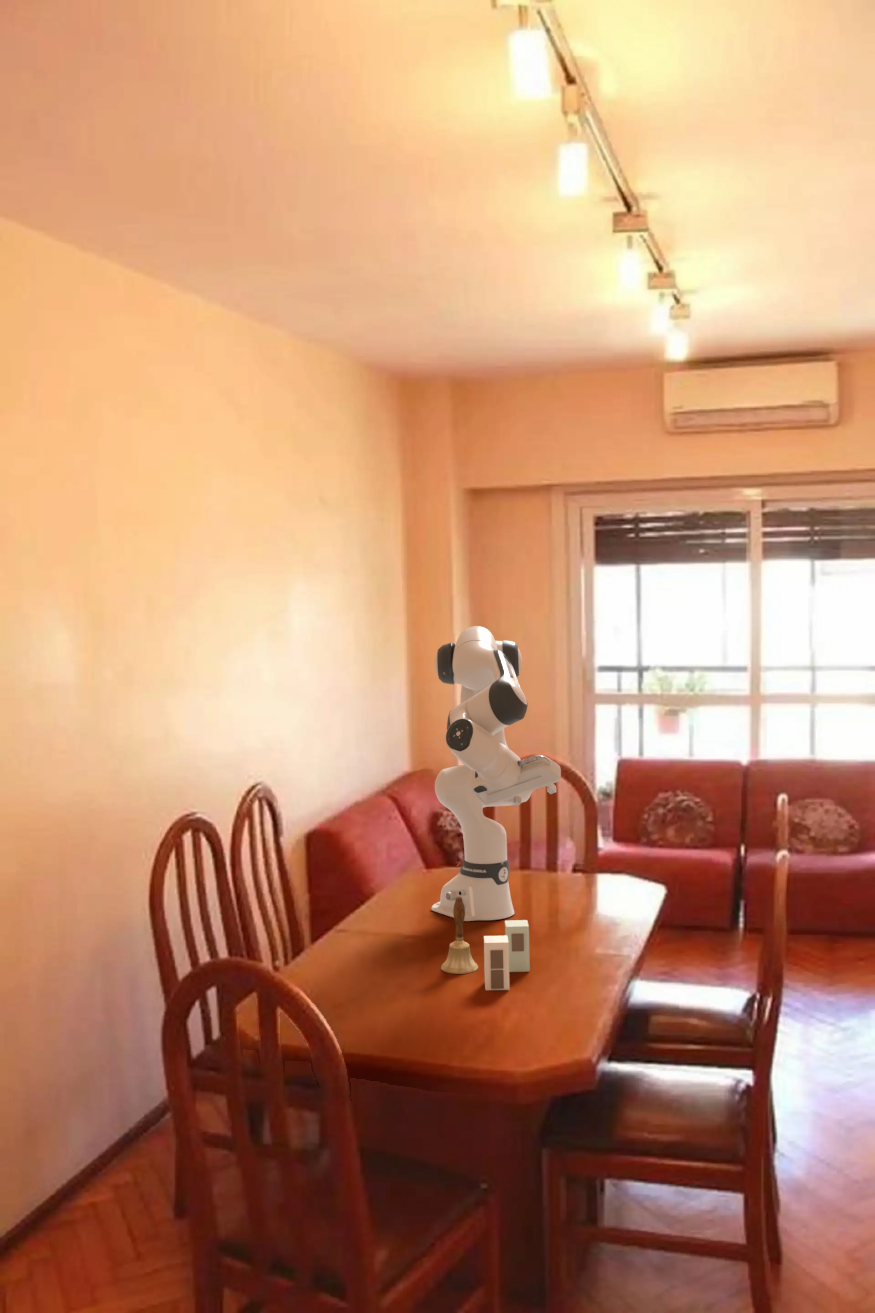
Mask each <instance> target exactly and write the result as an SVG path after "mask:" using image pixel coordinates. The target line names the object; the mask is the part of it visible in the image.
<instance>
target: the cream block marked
mask: <svg viewBox="0 0 875 1313" xmlns="http://www.w3.org/2000/svg"><path fill="white" fill-rule="evenodd" d="M483 959H484V960H483V962H484V964H483V965H484V967H483V968H484V987H485V988H484V989H485V991H510V990H511V989H510V972H509V942H508V936H507V935H505V934H504V935H483Z"/></svg>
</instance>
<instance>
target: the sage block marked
mask: <svg viewBox="0 0 875 1313" xmlns="http://www.w3.org/2000/svg"><path fill="white" fill-rule="evenodd" d="M505 935H507V936H508V942H509V973H521V972H523V973H525V972H527V973H528V972H531V971H530V970H531V966H530V958H531V957H530V926H529V922H528V919H520V920H519V919H515V920H513V919H512V920H511V919H510V920H504V936H505Z"/></svg>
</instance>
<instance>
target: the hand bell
mask: <svg viewBox="0 0 875 1313" xmlns="http://www.w3.org/2000/svg"><path fill="white" fill-rule="evenodd" d="M453 914H454V918H453V919H454V924H455V940H454V941H453V942H450V943H449V947H448V948H449V949H448V954H447V957H446V959H445V961H444V962H443V963H442V964H441V966H440V969H441V970H442V971H443V972H445V973H448V974H451V975H452V974H453V975H463V974H464V975H465V974H471V973H475V972H477V971H478V970H479V965H478V963H477V962H475V960H474V959H473V957H472V953H471V947H470V944H469V943H468V942H466V941H464V927H463V926H464V922H465V921H464V918H465V906H464V903H463V900H462V897H456V901H455V904H454V909H453Z"/></svg>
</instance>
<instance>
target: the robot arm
mask: <svg viewBox="0 0 875 1313" xmlns="http://www.w3.org/2000/svg"><path fill="white" fill-rule="evenodd" d="M522 668H523V656H522V653H521V650H520V648H519V645H518V644H517V643H516V642H515V641H512V640H507V639H502V640H496V639H495V637H494V635H493V633H492V632H491V631H490V630H489V629H487V628H486V627H483V626H480V625H473V626H470V627H467V628H464V630H463V631H462V632H461V633H460V634H459V635H458V638H457V640H456V642H449V643H446V644H443V645H441V646H440V647H438V649H437V652H436V655H435V659H434V669H435V672H436V675H437V676H438V679H439V680H440V682H442V684H447V685H455V684H456V685H461V690H460V699H459V700H460V702H459V703H460V704H457V706H455V707H453V708H452V709H451V710H450V711H449V713H448V716H447V720H446V721H447V722H446V734H445V743H446V746H447V747H448V749H449V751H451V753H452V754H453V755H454V757H455V758H457V759H458V760H459V762H461V763H462V764H463V765H456V766H451V767H446V768H443V769H442V770H440V772H439V773H438V774H437V776H436V778H435V780H434V792H435V796H436V798H437V800H438V801H439V803H440V804H441V805H442V806H444V807H445V808H447V809H448V810H449V811H450V812H451V813H452V814H453V815H454V816H455V818H456V819H457V821H458V823H459V825H460V827H461V832H462V837H463V848H464V850H463V852H464V858H463V859H462V860H460V861H456V863H457V865H456V867H460V869H459V872H458V874H456V875H455V876H454V877H452V878H451V879H450V880H449V881H447V882H446V883H445V884H444V885H443V886H442V888H441V890H440V891H441V892H440V897H439V899H440V900H439V901H437V902H436V903H433V905H432V906H431V911H433V912H436V913H439V914H441V915H445V916H447V917H449V918H453V919H454V914H453V909H454V904H455V901H456V897H462V900H463V903H464V906H465V918H464V922H471V921H472V922H474V921H496V920H497V921H498V920H502V919H507V918H510V917H512V916H513V915H515V910H514V909H515V908H514V906H513V901H512V897H511V896H512V895H511V890H510V885H509V875H510V862H509V860H510V859H508V841H507V840H508V839H507V838H508V836H507V832H506V829H505V827H504V826H503V825H502V824H501V823H499V822H497V821H496V820H494V819H492V818H490V817H486V816H485V814H484V812H483V811H484V810H483V809H484V808H487V807H490V808H491V807H504V806H505V807H506V806H507V807H508V806H515V807H516V806H517V807H518V806H519V805H521V804H523V803H526V802H528V801H529V799H530V797H531V796H532V794H533V792H534V791H535V790H538V789H541V788H543V787H546V792H547V793H549V795H552V794H555V793H557V786H556V785H555V784H556V783H558V782H560V781H561V778H562V777H561V776H562V770H561V766H560V765H559V764H558V763H557V762H555V761H554V760H552V759H551V758H549V757H547V756H545V755H542V754H537V755H531V756H530V757H528V758H527V757H526V758H523V759H521V758H520V756H519V755H517V753H515V752H514V751H513V750H511V749H510V748H509V746H508V743H507V740H506V736H505V735H506V734H505V729H506V728H508V727H509V726H511V725H513V724H516V723H517V722H520V721H522V720H524V718H525V716H526V714H527V711H528V705H529V703H528V700H527V697H526V695H525V693H524V692H523V690H522V688H521V685H520V682H519V680H518V677H519V676H520V672H521V671H522Z"/></svg>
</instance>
